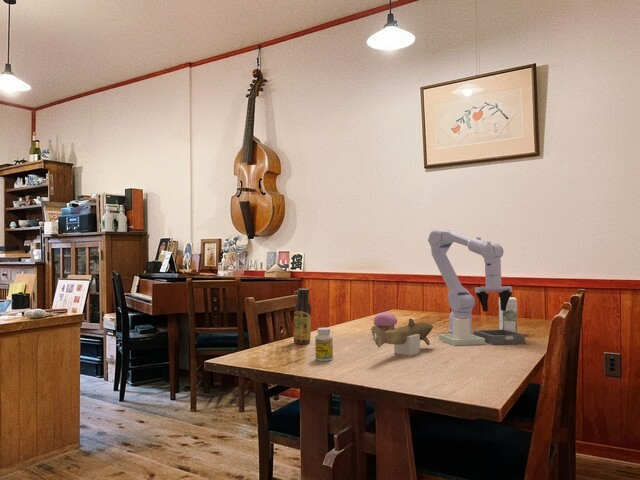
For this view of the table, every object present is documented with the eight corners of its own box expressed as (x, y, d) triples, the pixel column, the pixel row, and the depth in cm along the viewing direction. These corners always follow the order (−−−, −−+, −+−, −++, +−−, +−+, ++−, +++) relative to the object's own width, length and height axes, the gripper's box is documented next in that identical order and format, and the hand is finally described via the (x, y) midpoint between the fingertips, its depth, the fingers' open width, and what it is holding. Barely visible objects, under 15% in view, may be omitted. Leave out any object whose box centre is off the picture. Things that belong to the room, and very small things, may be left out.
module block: (453, 339, 182) (452, 316, 182) (464, 339, 183) (463, 316, 183) (458, 341, 177) (458, 318, 177) (470, 341, 178) (469, 317, 178)
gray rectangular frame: (473, 338, 187) (473, 330, 187) (504, 336, 190) (504, 329, 190) (493, 345, 174) (493, 336, 174) (525, 343, 176) (525, 335, 176)
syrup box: (513, 332, 201) (512, 296, 201) (517, 334, 195) (517, 298, 195) (498, 331, 202) (498, 296, 202) (502, 334, 196) (502, 298, 196)
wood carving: (360, 361, 149) (359, 324, 150) (419, 344, 175) (419, 313, 176) (384, 365, 143) (384, 327, 144) (442, 347, 169) (441, 315, 170)
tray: (439, 339, 185) (439, 334, 185) (468, 338, 187) (468, 333, 187) (454, 345, 173) (454, 339, 173) (484, 344, 175) (484, 338, 175)
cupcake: (400, 337, 190) (400, 311, 190) (391, 340, 183) (391, 314, 183) (379, 335, 195) (379, 310, 195) (369, 338, 187) (369, 312, 188)
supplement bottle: (334, 358, 154) (334, 327, 154) (330, 361, 149) (329, 330, 149) (318, 357, 155) (318, 326, 156) (313, 360, 150) (313, 329, 150)
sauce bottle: (290, 344, 177) (290, 289, 178) (297, 341, 183) (297, 287, 184) (307, 345, 175) (306, 289, 175) (313, 342, 181) (313, 288, 181)
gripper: (481, 276, 182) (482, 312, 182) (516, 275, 185) (517, 311, 185) (471, 275, 189) (472, 310, 188) (505, 274, 192) (506, 309, 191)
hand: (494, 311), depth 187 cm, fingers open, 7 cm apart
